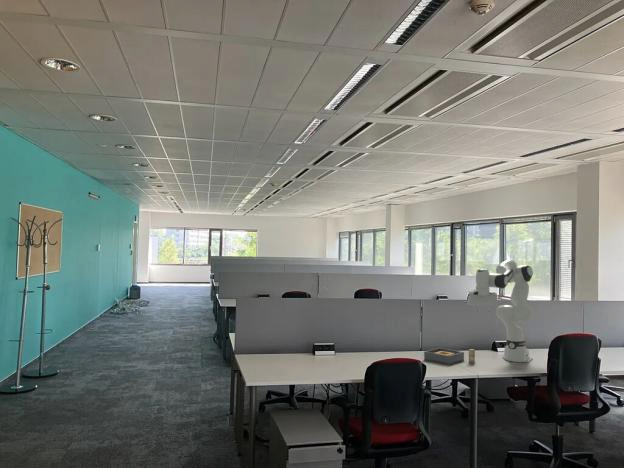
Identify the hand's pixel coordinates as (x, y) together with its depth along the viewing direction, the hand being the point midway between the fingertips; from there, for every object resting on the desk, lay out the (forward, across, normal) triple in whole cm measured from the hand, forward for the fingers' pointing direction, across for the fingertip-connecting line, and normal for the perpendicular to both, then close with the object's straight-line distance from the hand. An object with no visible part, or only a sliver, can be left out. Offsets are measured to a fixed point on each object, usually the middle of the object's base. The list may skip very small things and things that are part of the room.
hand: (482, 312), depth 319 cm
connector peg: (+36, +6, -5) cm, 37 cm away
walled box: (+36, +23, -13) cm, 44 cm away
